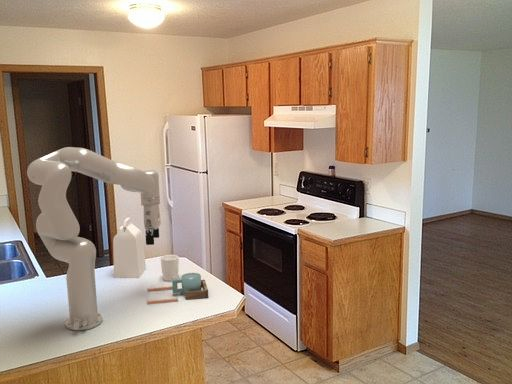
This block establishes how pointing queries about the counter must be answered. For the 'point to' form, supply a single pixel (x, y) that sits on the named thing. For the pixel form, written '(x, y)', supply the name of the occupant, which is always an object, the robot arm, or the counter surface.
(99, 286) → the counter surface
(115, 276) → the milk
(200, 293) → the brown wooden frame
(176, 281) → the jug
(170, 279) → the white cup
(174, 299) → the strips
